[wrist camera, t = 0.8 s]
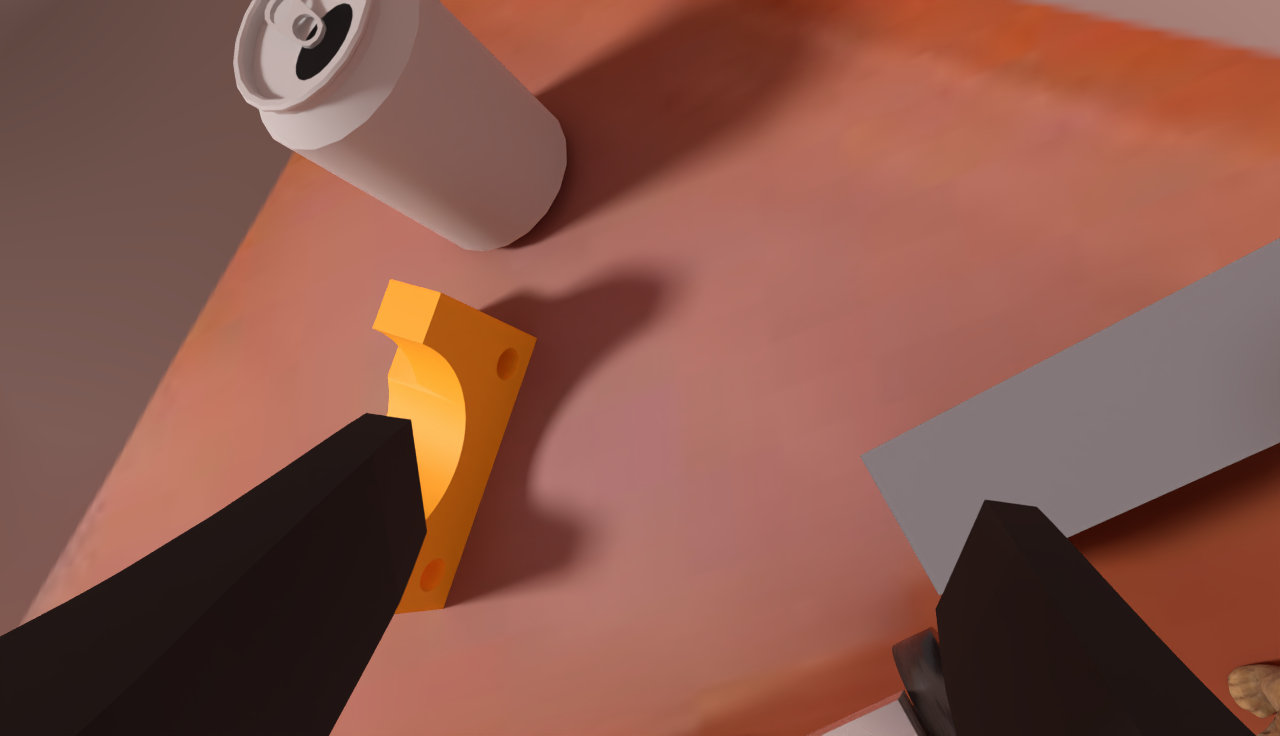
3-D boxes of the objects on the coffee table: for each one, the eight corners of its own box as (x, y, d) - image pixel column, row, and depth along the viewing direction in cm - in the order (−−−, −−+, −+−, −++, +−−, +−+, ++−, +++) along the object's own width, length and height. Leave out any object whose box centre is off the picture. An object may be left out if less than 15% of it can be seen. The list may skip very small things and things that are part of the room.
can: (507, 288, 33) (279, 163, 22) (418, 210, 36) (184, 69, 26) (607, 152, 32) (421, -44, 21) (507, 85, 36) (304, -112, 25)
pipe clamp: (464, 317, 34) (358, 270, 28) (538, 339, 32) (441, 292, 26) (374, 570, 33) (244, 574, 27) (445, 608, 31) (321, 622, 25)
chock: (1324, 417, 20) (1420, 379, 16) (948, 586, 23) (938, 595, 18) (1222, 300, 22) (1283, 235, 17) (882, 472, 24) (860, 455, 20)
